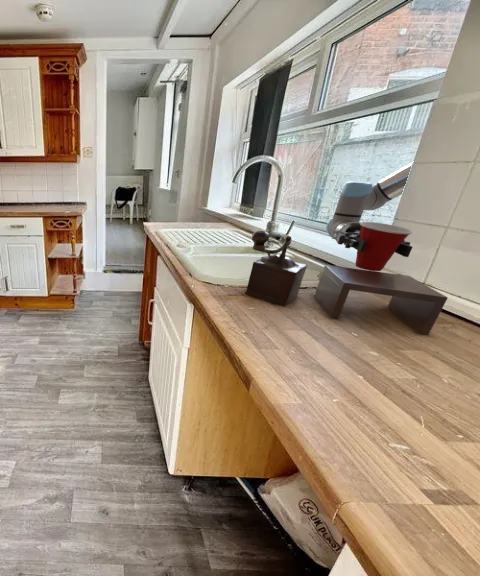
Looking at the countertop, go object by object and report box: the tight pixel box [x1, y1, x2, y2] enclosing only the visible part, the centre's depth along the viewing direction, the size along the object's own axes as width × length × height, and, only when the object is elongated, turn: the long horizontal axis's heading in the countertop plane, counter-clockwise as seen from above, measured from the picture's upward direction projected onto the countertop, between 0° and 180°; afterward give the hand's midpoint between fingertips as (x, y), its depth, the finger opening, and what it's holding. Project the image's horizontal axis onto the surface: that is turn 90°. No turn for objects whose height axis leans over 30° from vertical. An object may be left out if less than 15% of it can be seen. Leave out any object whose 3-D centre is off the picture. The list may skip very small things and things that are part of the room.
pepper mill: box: [244, 230, 308, 307], centre depth 78 cm, size 16×11×18 cm
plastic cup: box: [355, 221, 413, 272], centre depth 83 cm, size 11×11×12 cm
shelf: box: [314, 264, 449, 336], centre depth 74 cm, size 18×15×9 cm
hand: (385, 249), depth 79 cm, fingers closed on plastic cup, 9 cm apart
